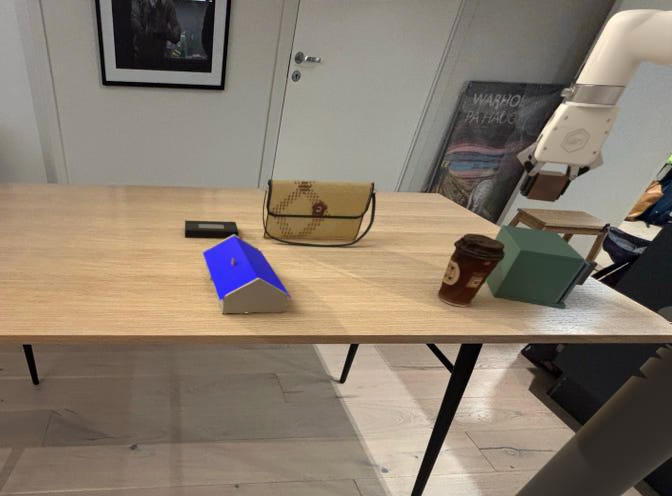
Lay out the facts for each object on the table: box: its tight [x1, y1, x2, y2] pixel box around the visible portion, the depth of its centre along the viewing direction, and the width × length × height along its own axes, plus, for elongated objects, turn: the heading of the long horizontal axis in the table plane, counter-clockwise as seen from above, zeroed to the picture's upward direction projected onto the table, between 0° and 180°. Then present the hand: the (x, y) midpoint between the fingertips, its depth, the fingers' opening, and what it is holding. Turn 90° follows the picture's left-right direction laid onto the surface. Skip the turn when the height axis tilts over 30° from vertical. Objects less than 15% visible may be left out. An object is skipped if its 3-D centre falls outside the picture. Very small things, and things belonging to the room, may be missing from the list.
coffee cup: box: [437, 233, 505, 308], centre depth 78 cm, size 9×8×13 cm
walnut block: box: [524, 169, 569, 203], centre depth 84 cm, size 5×5×5 cm
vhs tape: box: [184, 220, 239, 239], centre depth 107 cm, size 8×14×2 cm, turn 91°
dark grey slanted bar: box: [559, 252, 599, 303], centre depth 80 cm, size 5×8×8 cm, turn 159°
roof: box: [202, 234, 291, 314], centre depth 82 cm, size 22×14×7 cm, turn 7°
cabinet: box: [485, 224, 585, 310], centre depth 85 cm, size 13×16×11 cm
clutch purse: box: [262, 178, 378, 248], centre depth 101 cm, size 30×7×15 cm, turn 91°
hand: (538, 195), depth 85 cm, fingers closed on walnut block, 5 cm apart
